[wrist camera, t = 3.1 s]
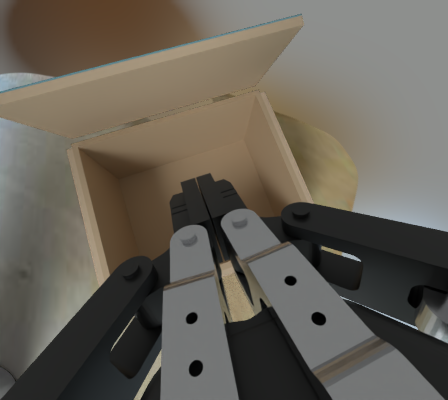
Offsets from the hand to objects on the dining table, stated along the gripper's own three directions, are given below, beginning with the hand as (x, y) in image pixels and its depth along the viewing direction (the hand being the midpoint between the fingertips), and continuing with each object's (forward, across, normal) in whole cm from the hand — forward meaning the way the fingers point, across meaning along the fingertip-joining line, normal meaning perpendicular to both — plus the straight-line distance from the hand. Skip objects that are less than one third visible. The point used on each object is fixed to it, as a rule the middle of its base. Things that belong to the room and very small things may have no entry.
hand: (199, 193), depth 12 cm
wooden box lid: (+13, 0, -3) cm, 14 cm away
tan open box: (+21, 0, +15) cm, 26 cm away
